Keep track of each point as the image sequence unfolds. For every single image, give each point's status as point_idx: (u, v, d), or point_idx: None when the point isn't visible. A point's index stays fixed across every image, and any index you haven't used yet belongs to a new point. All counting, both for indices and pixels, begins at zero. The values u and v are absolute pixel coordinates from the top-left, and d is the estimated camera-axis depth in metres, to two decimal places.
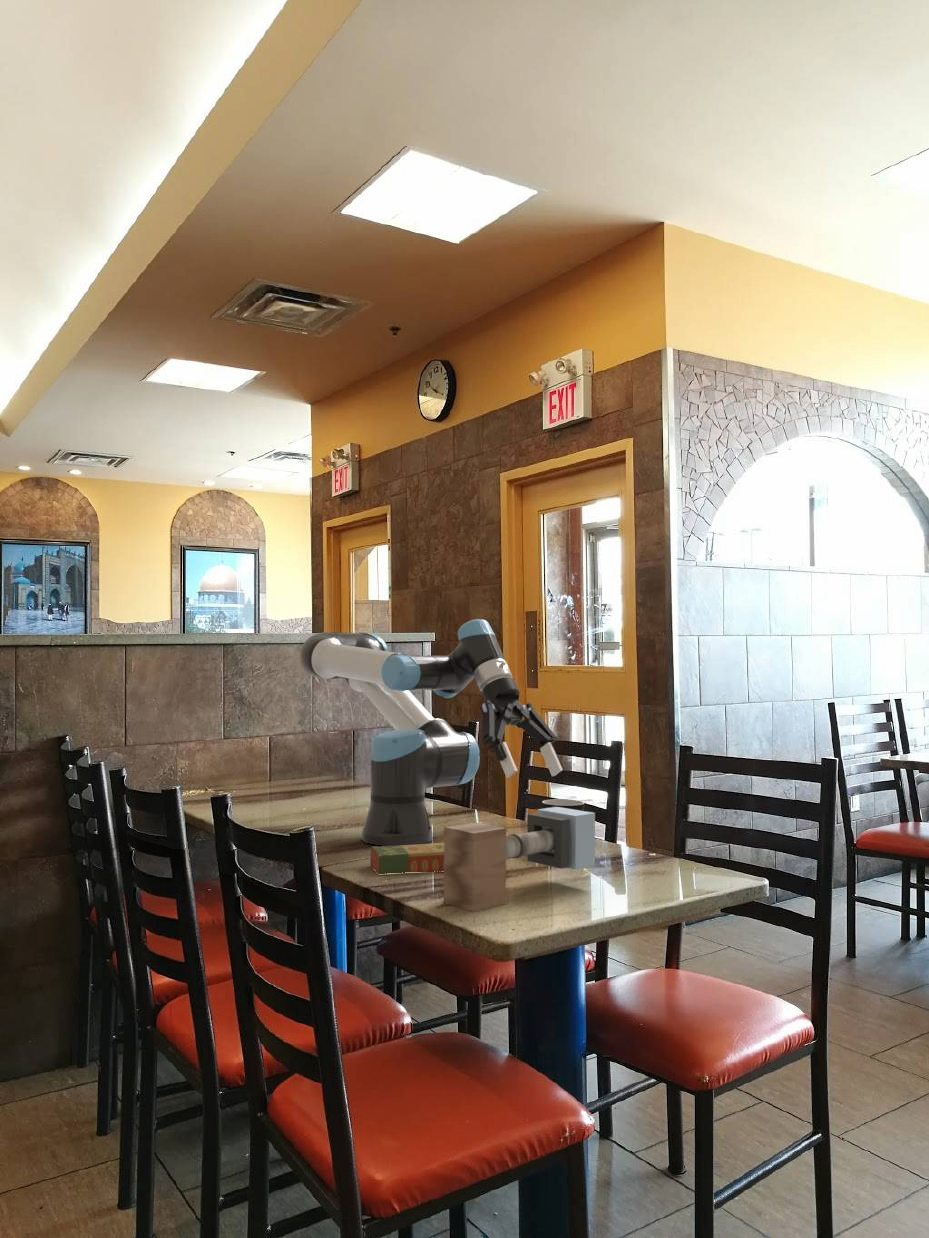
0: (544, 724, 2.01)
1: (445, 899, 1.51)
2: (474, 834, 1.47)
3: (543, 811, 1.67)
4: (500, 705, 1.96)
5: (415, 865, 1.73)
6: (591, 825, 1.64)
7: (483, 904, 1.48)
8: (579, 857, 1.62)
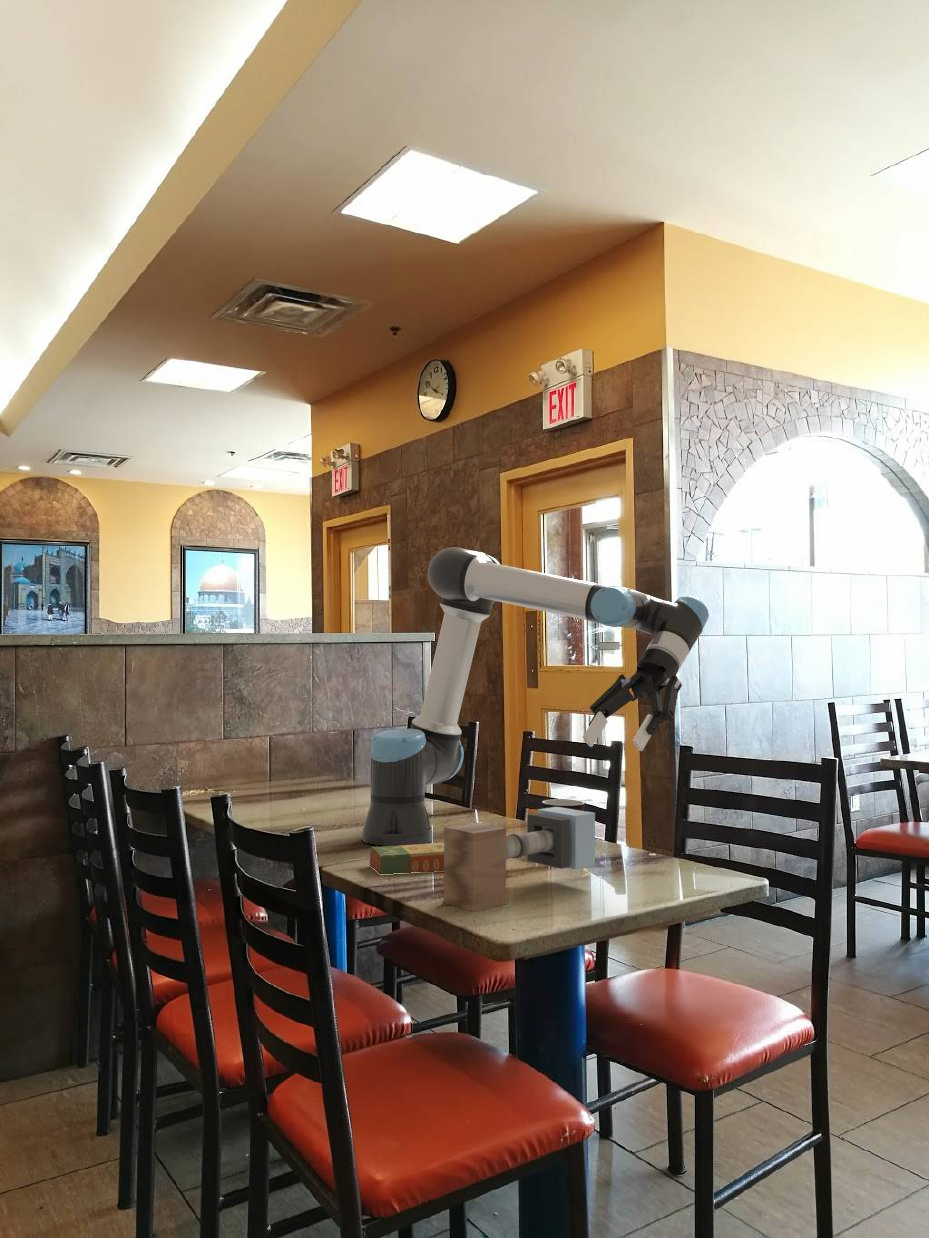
0: None
1: (445, 899, 1.51)
2: (474, 834, 1.47)
3: (543, 811, 1.67)
4: None
5: (416, 865, 1.73)
6: (591, 825, 1.64)
7: (483, 904, 1.48)
8: (579, 857, 1.62)
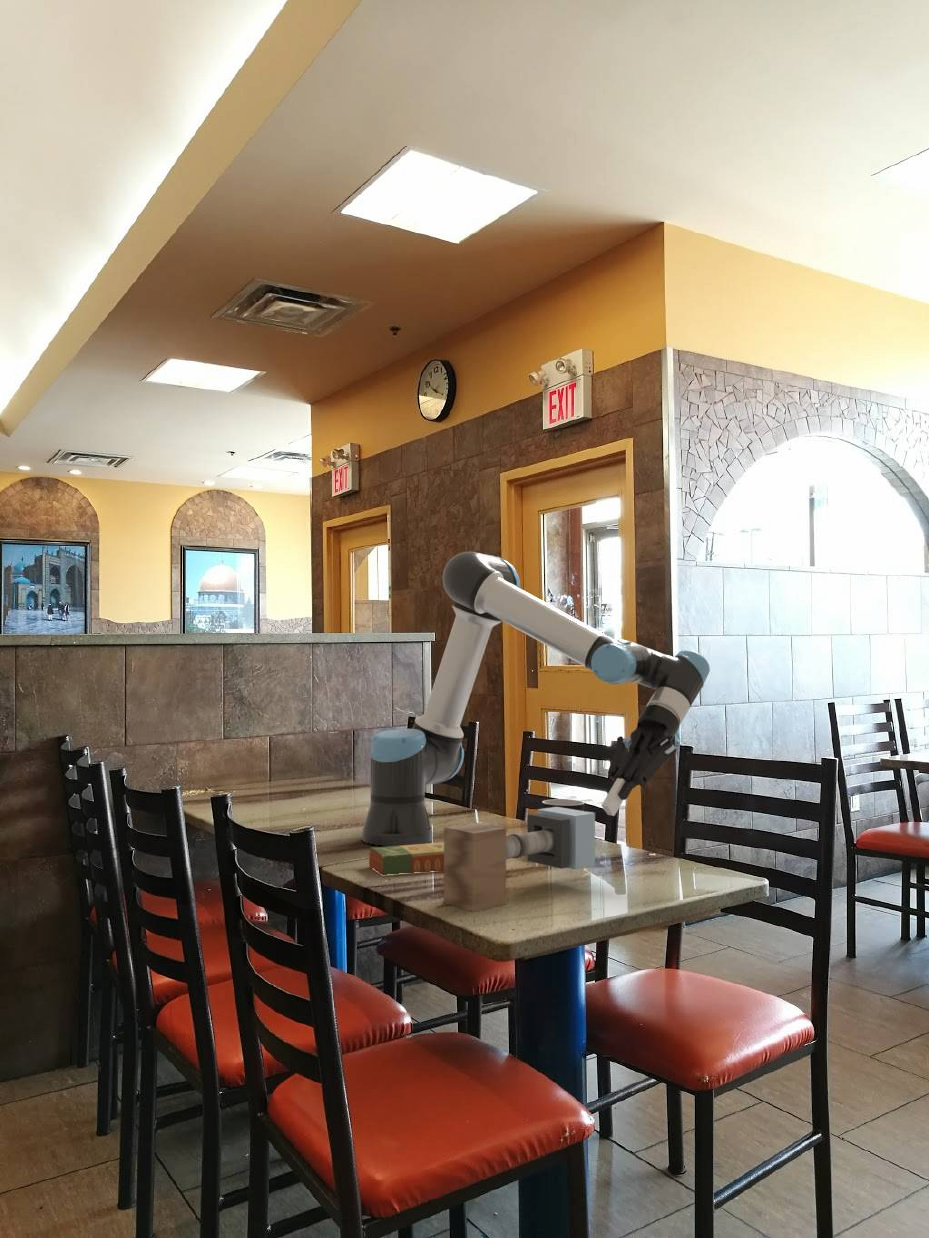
0: None
1: (445, 899, 1.51)
2: (474, 834, 1.47)
3: (543, 811, 1.67)
4: None
5: (418, 865, 1.73)
6: (591, 825, 1.64)
7: (483, 904, 1.48)
8: (579, 857, 1.62)
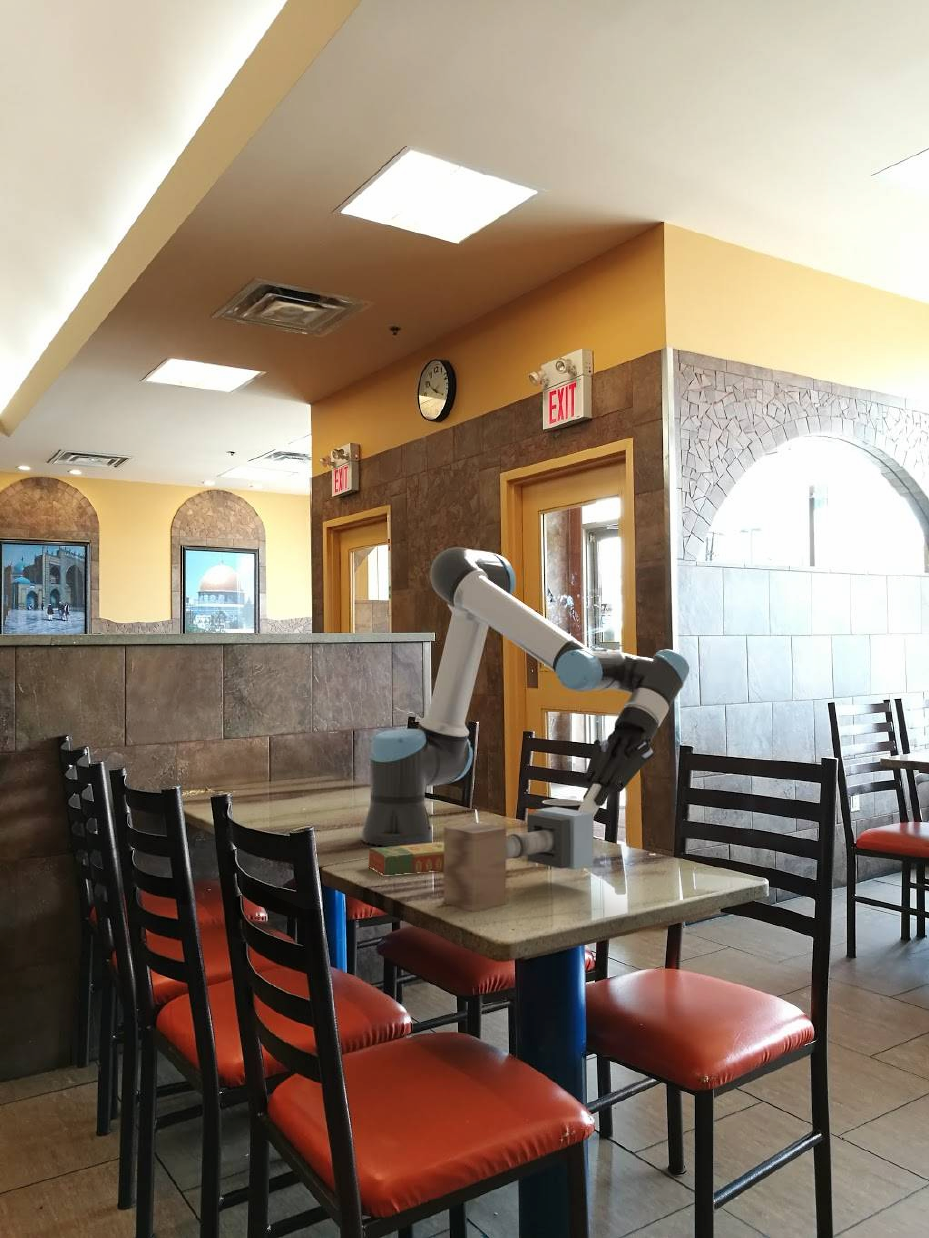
0: None
1: (445, 899, 1.51)
2: (474, 834, 1.47)
3: (542, 811, 1.66)
4: None
5: (420, 865, 1.73)
6: (590, 825, 1.63)
7: (483, 904, 1.48)
8: (578, 857, 1.61)
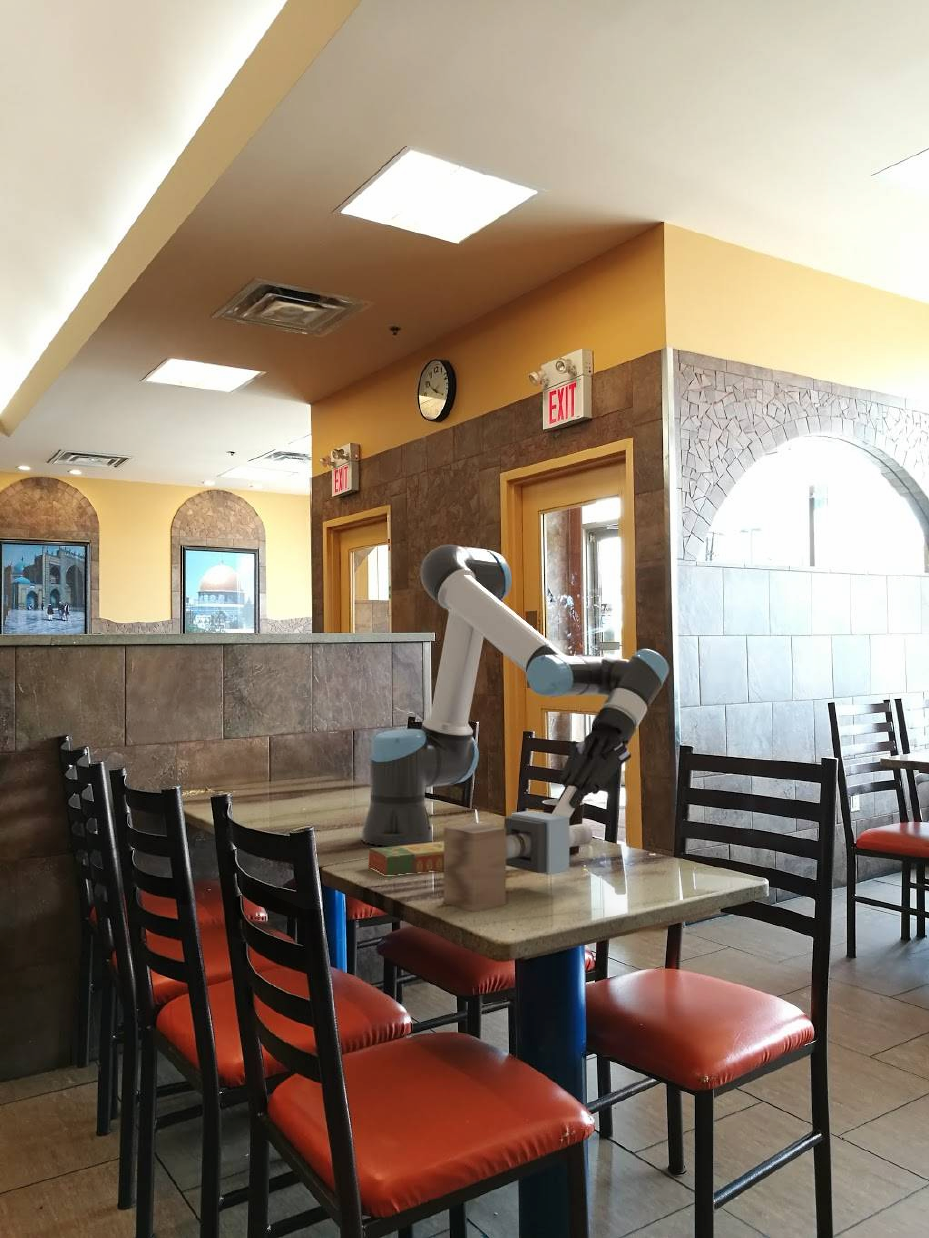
0: None
1: (445, 899, 1.51)
2: (474, 834, 1.47)
3: (516, 815, 1.62)
4: None
5: (421, 865, 1.73)
6: (565, 829, 1.59)
7: (483, 904, 1.48)
8: (553, 862, 1.57)
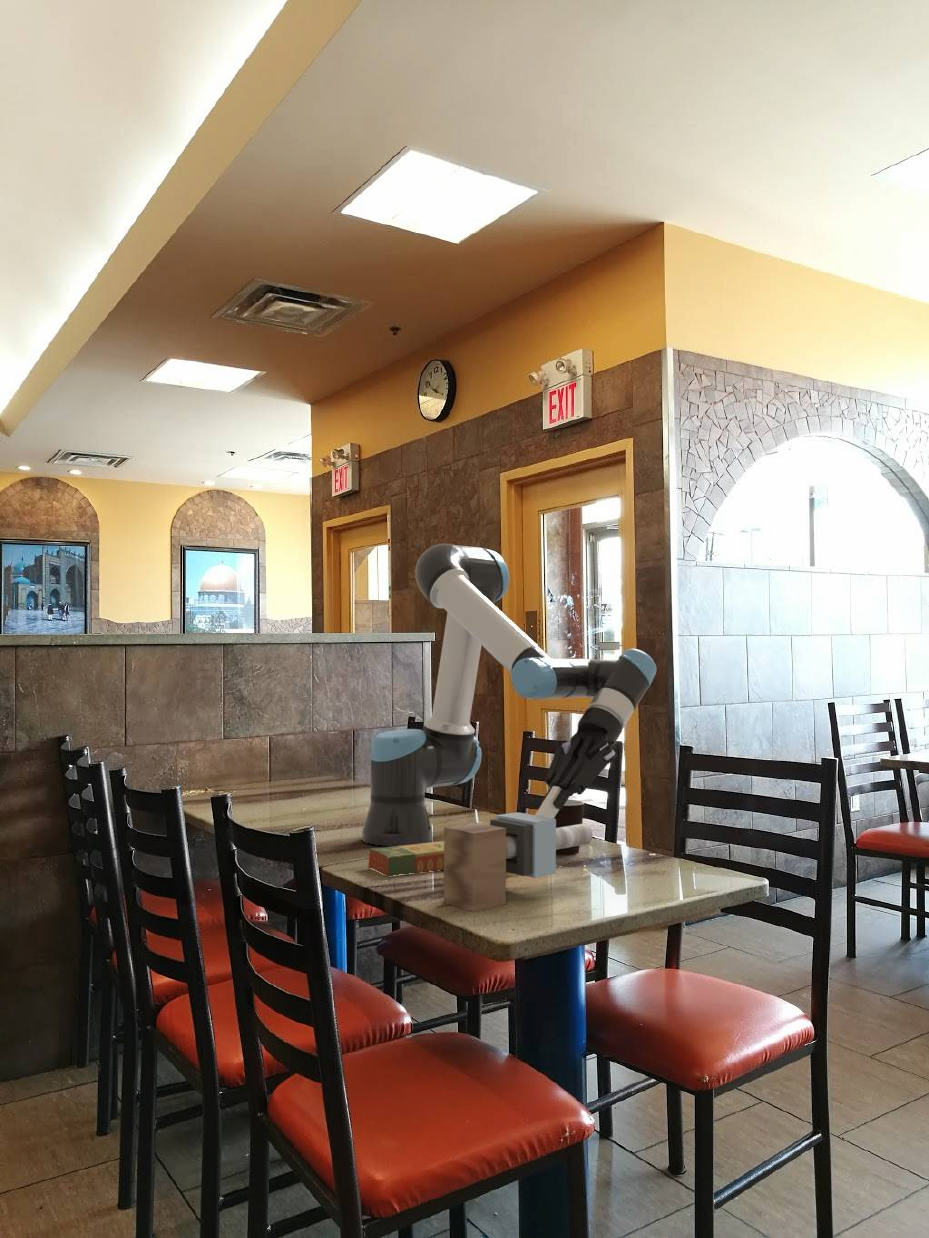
0: None
1: (445, 899, 1.51)
2: (474, 834, 1.47)
3: (502, 817, 1.60)
4: None
5: (421, 865, 1.73)
6: (552, 832, 1.57)
7: (483, 904, 1.48)
8: (539, 865, 1.55)
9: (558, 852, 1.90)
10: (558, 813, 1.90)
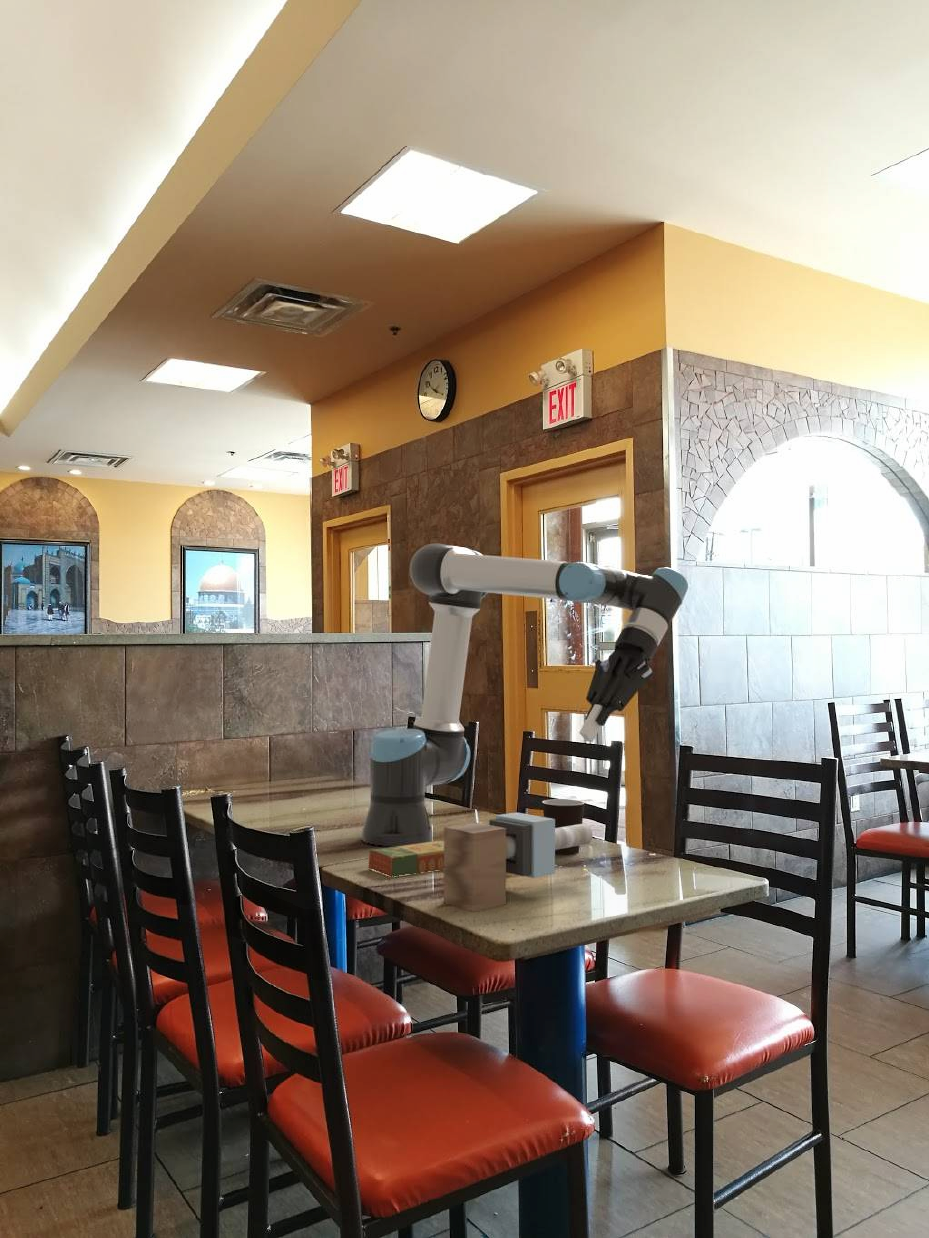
0: None
1: (445, 899, 1.51)
2: (474, 834, 1.47)
3: (501, 817, 1.60)
4: None
5: (424, 864, 1.73)
6: (551, 832, 1.57)
7: (483, 904, 1.48)
8: (538, 865, 1.55)
9: (558, 852, 1.90)
10: (558, 813, 1.90)
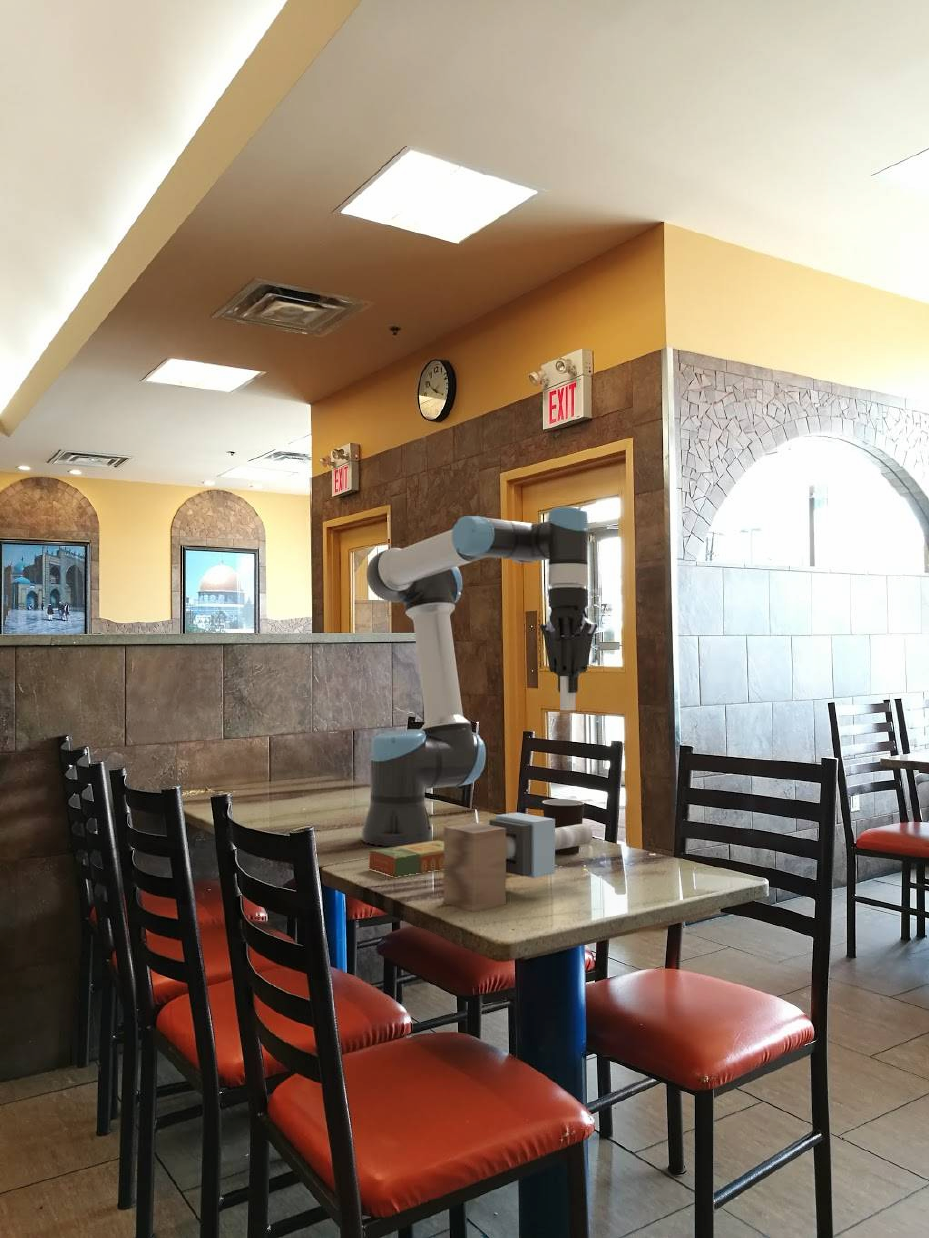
0: None
1: (445, 899, 1.51)
2: (474, 834, 1.47)
3: (501, 817, 1.60)
4: None
5: (425, 864, 1.73)
6: (551, 832, 1.57)
7: (483, 904, 1.48)
8: (538, 865, 1.55)
9: (558, 852, 1.90)
10: (558, 813, 1.90)
